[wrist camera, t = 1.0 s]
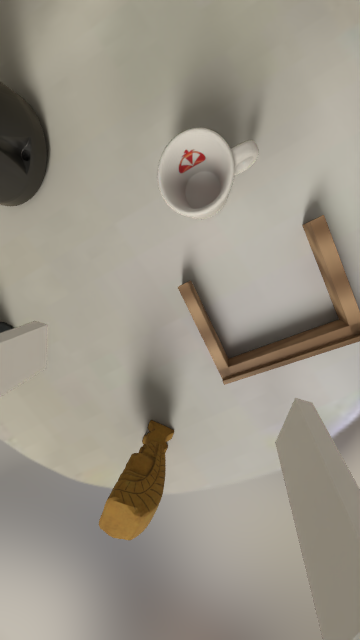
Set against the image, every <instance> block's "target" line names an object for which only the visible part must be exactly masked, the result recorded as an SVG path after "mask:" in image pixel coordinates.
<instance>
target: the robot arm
mask: <svg viewBox="0 0 360 640" xmlns="http://www.w3.org/2000/svg"><path fill="white" fill-rule="evenodd" d="M46 163H47V150H46V142H45V137H44V133H43V130H42V127H41V124H40V122H39V120H38V118H37V116H36V114H35V113H34V111H33V109H32V108H31V107H30V105H29V104H28V103H27V102H26V101H25V100H24V99H23V98H22V97H21V96H19V95H18V94H17V93H15V92H14V91H13V90H11V89H10V88H9V87H7V86H6V85H4V84H3V83H1V82H0V205H5V206H17V205H20V204H23V203H25V202H27V201H28V200H29V199H31V198H32V197H33V196H34V195H35V193H36V192H37V191H38V189H39V187H40V185H41V183H42V181H43V178H44V175H45V170H46ZM47 326H48V325H47V324H44V323H41V322H37V321H33V322H31V323H28V324H25V325H22V326H19V327H16V328H13V329H10V330H8V331H5V332H2V333H0V397H1V396H3V395H5V394H6V393H8V392H9V391H11V390H13V389H14V388H16V387H17V386H19V385H21V384H22V383H24V382H25V381H27V380H28V379H30V378H32V377H33V376H35V375H36V374H38V373H40V372H41V371H43V370H44V369H46V365H47ZM275 443H276V447H277V452H278V456H279V460H280V464H281V468H282V472H283V476H284V481H285V485H286V489H287V493H288V497H289V502H290V506H291V509H292V514H293V518H294V522H295V527H296V531H297V535H298V539H299V543H300V547H301V552H302V556H303V560H304V563H305V568H306V572H307V576H308V581H309V585H310V589H311V593H312V597H313V602H314V605H315V610H316V614H317V618H318V622H319V627H320V631H321V635H322V639H323V640H360V489H359V487H358V485H357V484H356V481H355V480H354V478H353V476H352V474H351V472H350V471H349V469H348V467H347V465H346V463H345V462H344V460H343V458H342V456H341V454H340V452H339V451H338V449H337V447H336V445H335V443H334V441H333V440H332V438H331V436H330V434H329V432H328V431H327V429H326V427H325V425H324V423H323V421H322V420H321V418H320V416H319V414H318V412H317V411H316V409H315V407H314V405H313V403H311V402H307V401H304V400H301V399H297V398H295V400H294V402H293V404H292V407H291V409H290V411H289V413H288V415H287V418H286V420H285V422H284V424H283V427H282V429H281V431H280V433H279V436H278V438H277V440H276V442H275Z"/></svg>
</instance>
